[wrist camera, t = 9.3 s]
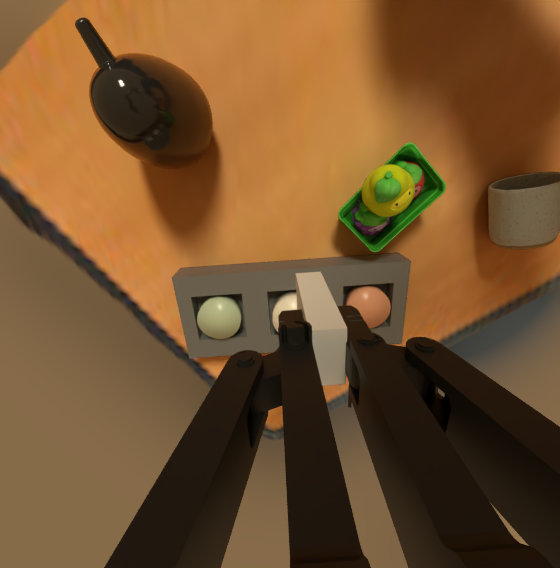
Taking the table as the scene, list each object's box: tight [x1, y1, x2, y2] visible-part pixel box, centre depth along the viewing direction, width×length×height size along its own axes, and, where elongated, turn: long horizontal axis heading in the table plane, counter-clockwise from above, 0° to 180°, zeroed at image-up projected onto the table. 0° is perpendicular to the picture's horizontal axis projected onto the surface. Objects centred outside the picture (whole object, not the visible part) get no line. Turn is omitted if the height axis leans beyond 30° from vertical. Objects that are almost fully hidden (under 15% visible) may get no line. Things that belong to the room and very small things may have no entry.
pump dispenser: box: [75, 18, 213, 169], centre depth 28 cm, size 10×10×15 cm
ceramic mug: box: [488, 172, 560, 250], centre depth 37 cm, size 11×8×8 cm
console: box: [172, 253, 411, 358], centre depth 43 cm, size 13×32×4 cm, turn 94°
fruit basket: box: [338, 143, 446, 252], centre depth 34 cm, size 11×9×11 cm
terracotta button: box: [344, 284, 391, 328], centre depth 41 cm, size 6×6×2 cm
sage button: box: [197, 295, 242, 339], centre depth 41 cm, size 6×6×2 cm
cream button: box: [273, 292, 297, 332], centre depth 40 cm, size 6×6×2 cm
